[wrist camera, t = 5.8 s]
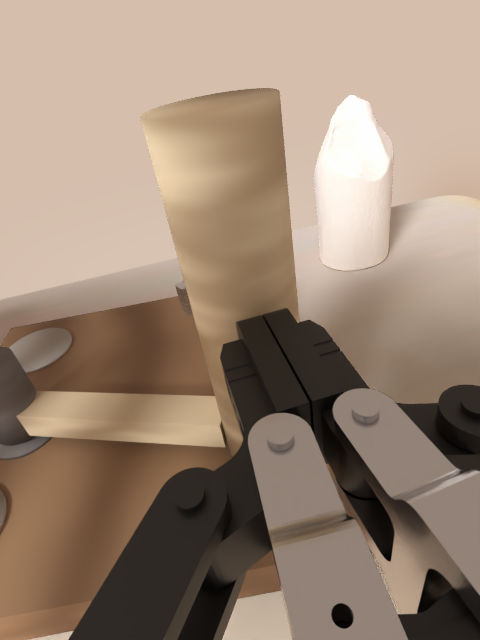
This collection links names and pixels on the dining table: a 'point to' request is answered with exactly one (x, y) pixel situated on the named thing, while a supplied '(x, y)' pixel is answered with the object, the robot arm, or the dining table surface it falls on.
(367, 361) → the dining table surface
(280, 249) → the hinged leg
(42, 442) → the stool seat
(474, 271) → the dining table surface
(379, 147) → the white pointed cylinder
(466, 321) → the dining table surface
